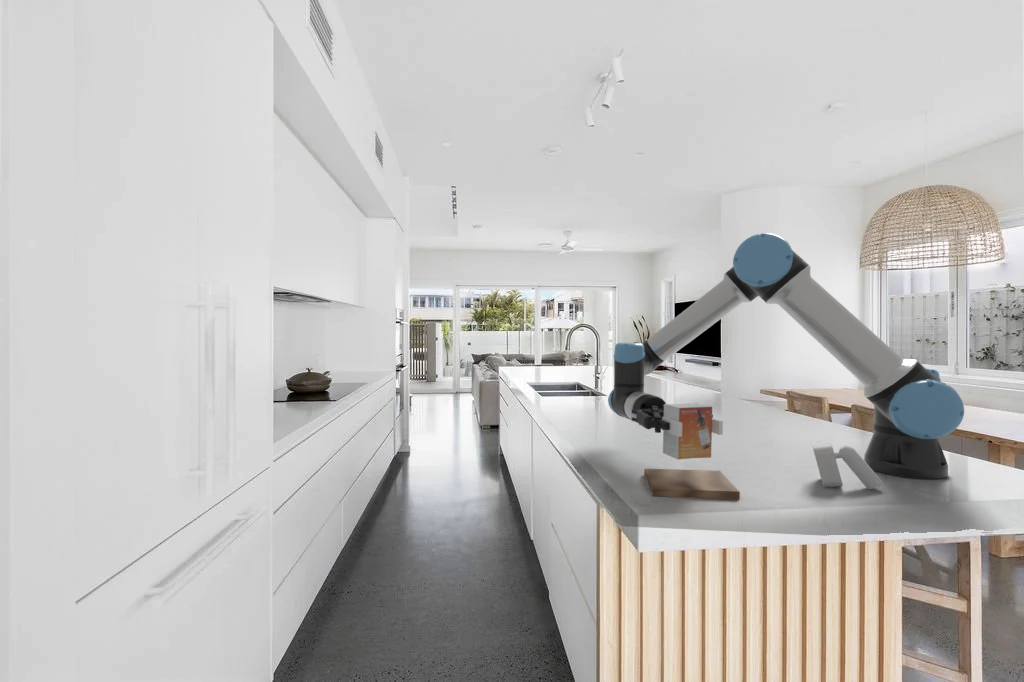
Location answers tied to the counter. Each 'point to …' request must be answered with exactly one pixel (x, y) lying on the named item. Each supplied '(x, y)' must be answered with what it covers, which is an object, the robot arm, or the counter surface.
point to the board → (690, 484)
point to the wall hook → (850, 457)
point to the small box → (689, 431)
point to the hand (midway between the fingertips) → (700, 428)
